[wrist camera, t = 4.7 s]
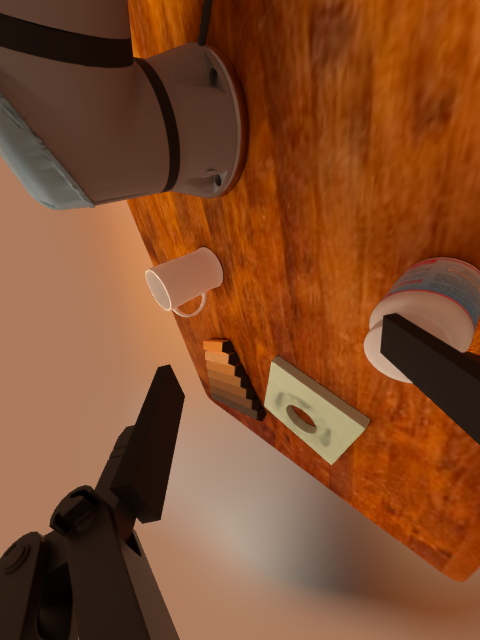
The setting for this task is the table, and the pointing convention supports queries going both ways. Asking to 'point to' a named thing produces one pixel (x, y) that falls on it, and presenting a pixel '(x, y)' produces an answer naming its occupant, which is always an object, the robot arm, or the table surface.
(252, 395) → the pan flute
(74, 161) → the robot arm
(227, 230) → the table surface
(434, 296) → the pill bottle
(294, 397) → the mounting pad
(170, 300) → the mug
